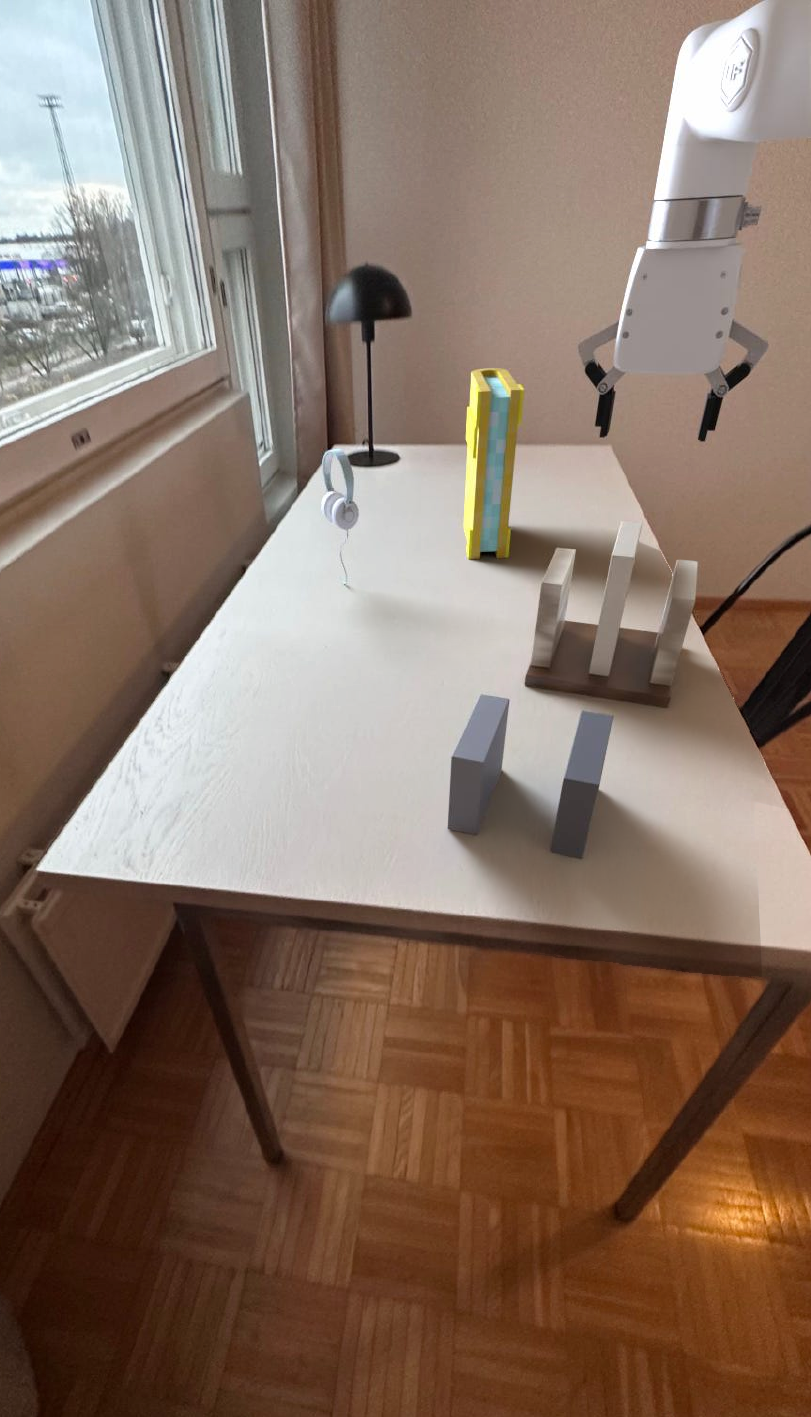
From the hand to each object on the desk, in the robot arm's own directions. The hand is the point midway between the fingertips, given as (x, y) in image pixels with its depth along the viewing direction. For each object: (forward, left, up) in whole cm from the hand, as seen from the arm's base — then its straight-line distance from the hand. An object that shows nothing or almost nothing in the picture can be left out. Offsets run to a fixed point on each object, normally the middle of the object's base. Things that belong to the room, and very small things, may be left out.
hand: (651, 436), depth 74 cm
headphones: (+42, -14, -28) cm, 52 cm away
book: (+25, -38, -28) cm, 54 cm away
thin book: (0, 0, -26) cm, 26 cm away
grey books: (+4, +31, -27) cm, 41 cm away
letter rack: (0, 0, -27) cm, 27 cm away
